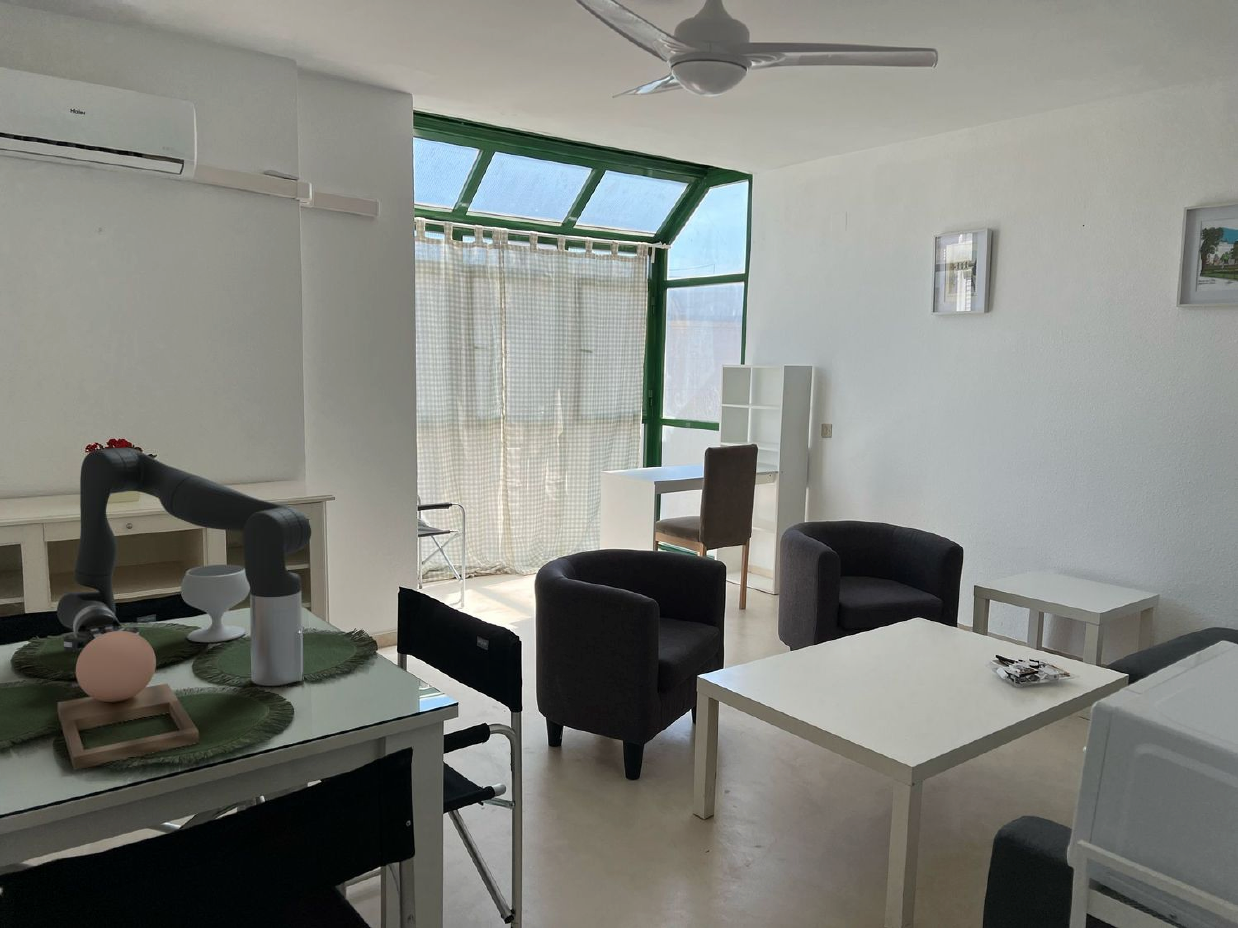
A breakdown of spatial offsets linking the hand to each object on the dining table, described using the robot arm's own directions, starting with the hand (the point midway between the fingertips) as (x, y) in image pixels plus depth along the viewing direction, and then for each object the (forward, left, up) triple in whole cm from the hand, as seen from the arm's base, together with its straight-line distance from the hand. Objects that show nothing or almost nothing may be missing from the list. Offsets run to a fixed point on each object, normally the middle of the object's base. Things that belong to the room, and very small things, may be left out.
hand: (108, 650), depth 158 cm
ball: (-3, +9, 0) cm, 10 cm away
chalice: (-13, -34, -8) cm, 37 cm away
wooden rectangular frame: (-6, +18, -8) cm, 21 cm away
